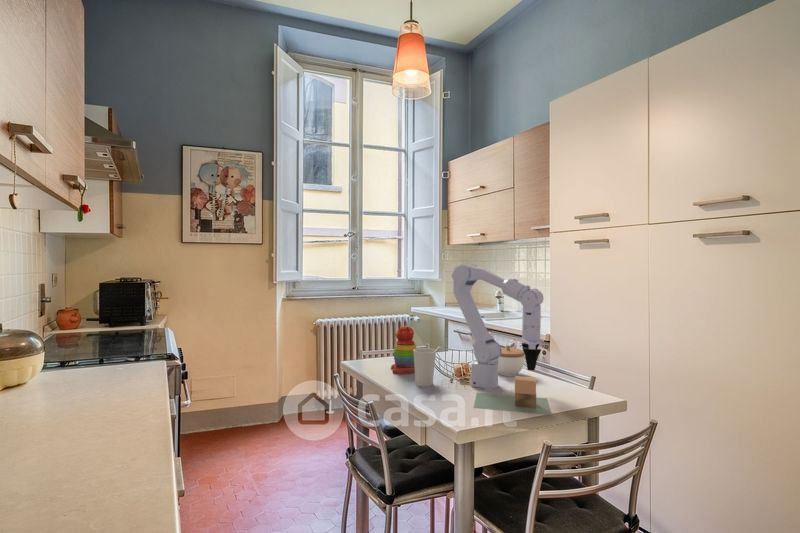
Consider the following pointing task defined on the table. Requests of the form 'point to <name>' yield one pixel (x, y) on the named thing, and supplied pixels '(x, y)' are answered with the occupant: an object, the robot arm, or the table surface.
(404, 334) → the stacking bear
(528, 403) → the walnut base brick
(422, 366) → the cup
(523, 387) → the terracotta brick
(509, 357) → the lidded bowl
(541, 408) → the baseplate
